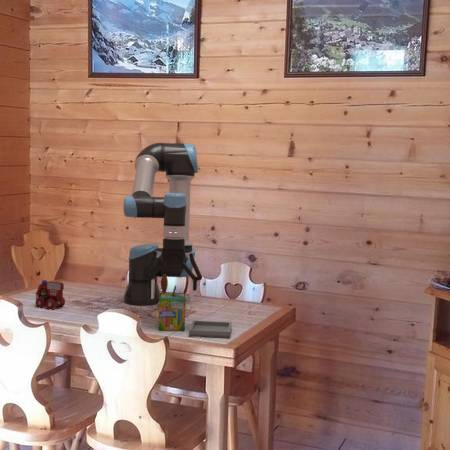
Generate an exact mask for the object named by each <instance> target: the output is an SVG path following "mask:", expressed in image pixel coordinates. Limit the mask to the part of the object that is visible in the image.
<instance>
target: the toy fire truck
mask: <svg viewBox="0 0 450 450" xmlns="http://www.w3.org/2000/svg"><path fill="white" fill-rule="evenodd" d="M64 288H65V287H64V282H59V281H52V280H51V281H47V279H43V280H42V281H41V283H40V284H38V288H37V290H36V293H35V306H36V307H37V308H39V307H40V308H39V309H43V308H45V306H46V308H47V310H50V309H52V310H54V309H56V307H58V308H62V307H64V306H65V303H66V299H65V297H63V296H64V295H63V294H64V293H63V292H64Z"/></svg>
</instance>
